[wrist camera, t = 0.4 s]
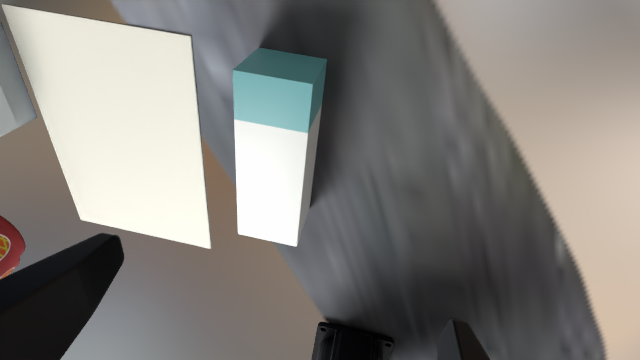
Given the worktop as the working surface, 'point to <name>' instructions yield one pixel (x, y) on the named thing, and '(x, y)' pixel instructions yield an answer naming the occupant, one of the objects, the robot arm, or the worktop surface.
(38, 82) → the paper sheet
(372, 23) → the worktop surface
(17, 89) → the button housing
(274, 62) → the milk carton
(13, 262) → the smoothie
